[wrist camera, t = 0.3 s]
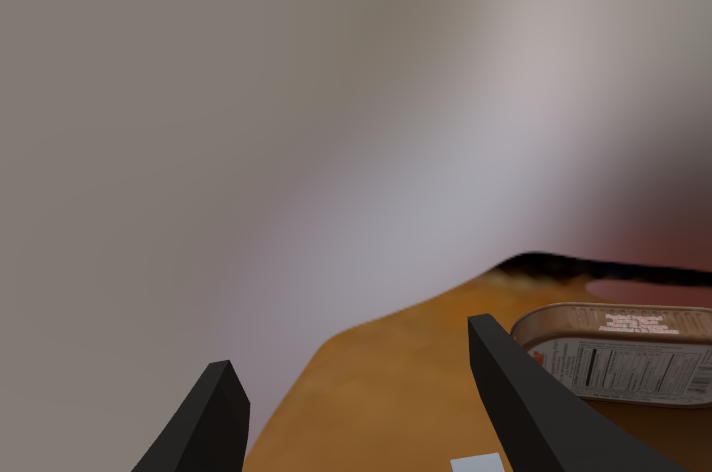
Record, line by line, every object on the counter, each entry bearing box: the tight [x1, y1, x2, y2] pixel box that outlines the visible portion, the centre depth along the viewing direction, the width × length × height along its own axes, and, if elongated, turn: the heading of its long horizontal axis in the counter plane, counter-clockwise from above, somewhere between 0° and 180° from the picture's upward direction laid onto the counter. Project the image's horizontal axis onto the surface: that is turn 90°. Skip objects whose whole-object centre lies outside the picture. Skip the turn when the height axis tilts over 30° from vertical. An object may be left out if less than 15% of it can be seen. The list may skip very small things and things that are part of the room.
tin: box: [510, 302, 712, 409], centre depth 29 cm, size 15×3×8 cm, turn 75°
